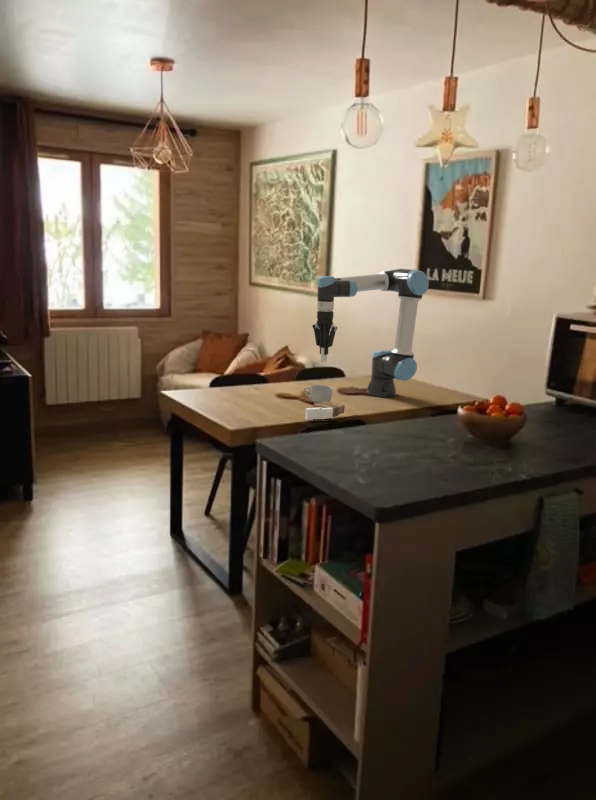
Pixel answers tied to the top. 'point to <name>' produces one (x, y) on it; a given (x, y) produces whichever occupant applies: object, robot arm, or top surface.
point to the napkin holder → (318, 413)
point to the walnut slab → (336, 407)
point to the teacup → (319, 393)
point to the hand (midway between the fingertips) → (323, 361)
